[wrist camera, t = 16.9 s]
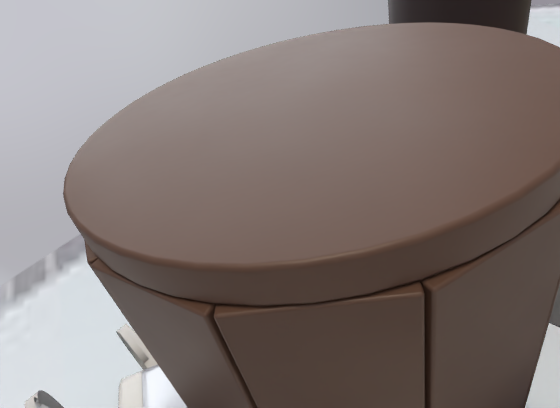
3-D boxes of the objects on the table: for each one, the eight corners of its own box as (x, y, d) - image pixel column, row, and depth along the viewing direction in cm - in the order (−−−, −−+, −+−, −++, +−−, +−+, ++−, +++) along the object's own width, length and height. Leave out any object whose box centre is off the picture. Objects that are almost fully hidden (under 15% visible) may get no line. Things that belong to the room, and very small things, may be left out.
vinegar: (481, 233, 23) (539, -265, 12) (378, 204, 28) (348, -186, 16) (517, 174, 27) (587, -250, 16) (421, 156, 31) (421, -188, 20)
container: (457, 691, 9) (586, 430, 2) (229, 514, 13) (-34, 194, 6) (507, 415, 14) (605, 5, 6) (325, 342, 17) (250, 34, 10)
